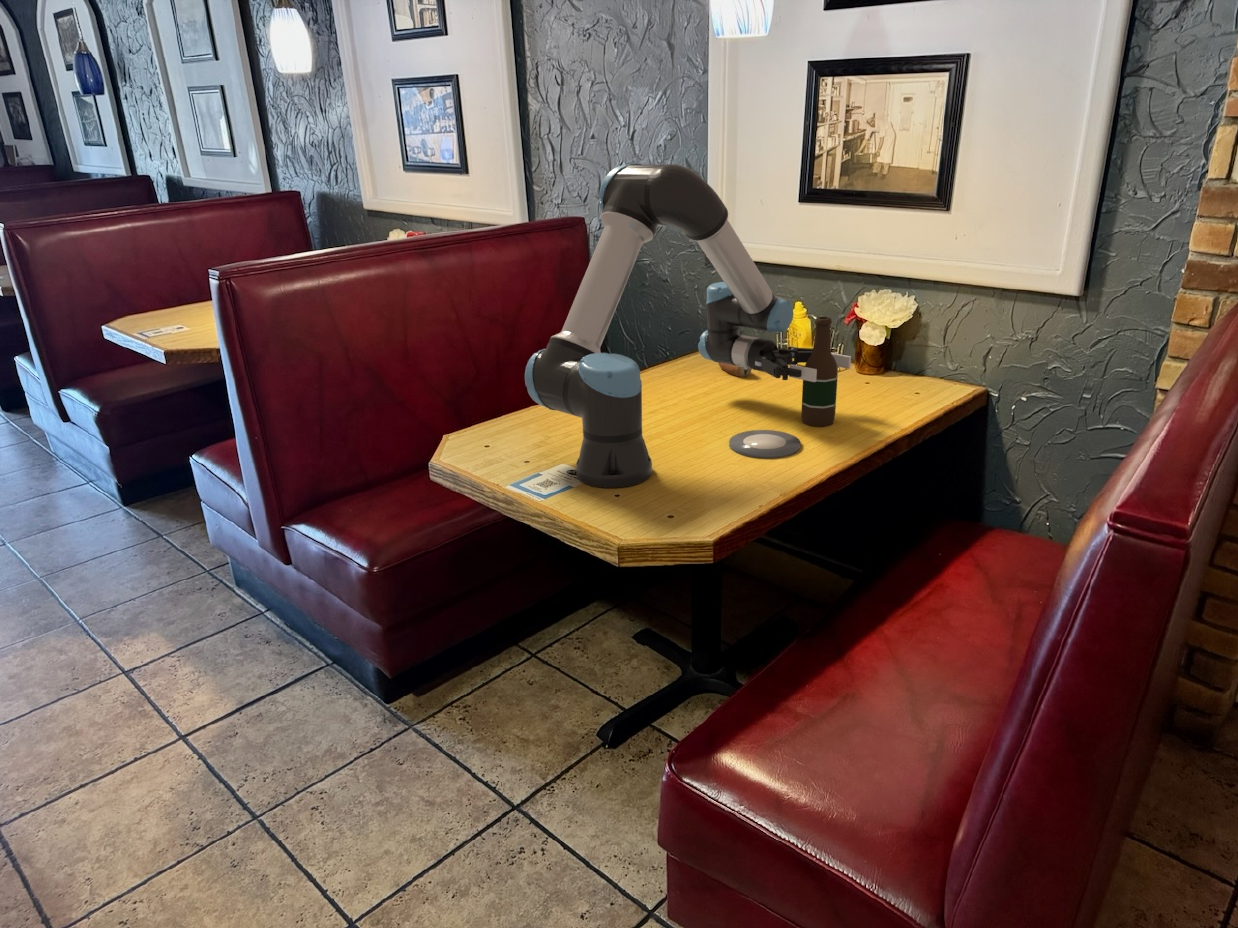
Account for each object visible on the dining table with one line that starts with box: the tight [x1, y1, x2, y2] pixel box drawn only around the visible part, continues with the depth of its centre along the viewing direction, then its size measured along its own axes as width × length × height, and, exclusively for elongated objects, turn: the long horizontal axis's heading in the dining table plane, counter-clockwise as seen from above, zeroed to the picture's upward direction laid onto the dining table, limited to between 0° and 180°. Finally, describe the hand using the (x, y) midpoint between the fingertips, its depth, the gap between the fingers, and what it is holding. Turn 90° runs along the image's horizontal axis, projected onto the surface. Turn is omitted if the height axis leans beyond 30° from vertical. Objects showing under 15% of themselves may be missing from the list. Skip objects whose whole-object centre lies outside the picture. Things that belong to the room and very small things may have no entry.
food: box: [717, 362, 753, 378], centre depth 233 cm, size 14×6×5 cm, turn 22°
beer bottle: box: [800, 316, 839, 428], centre depth 188 cm, size 8×8×24 cm
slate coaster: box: [728, 429, 801, 459], centre depth 180 cm, size 15×15×1 cm
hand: (833, 369), depth 186 cm, fingers open, 13 cm apart
